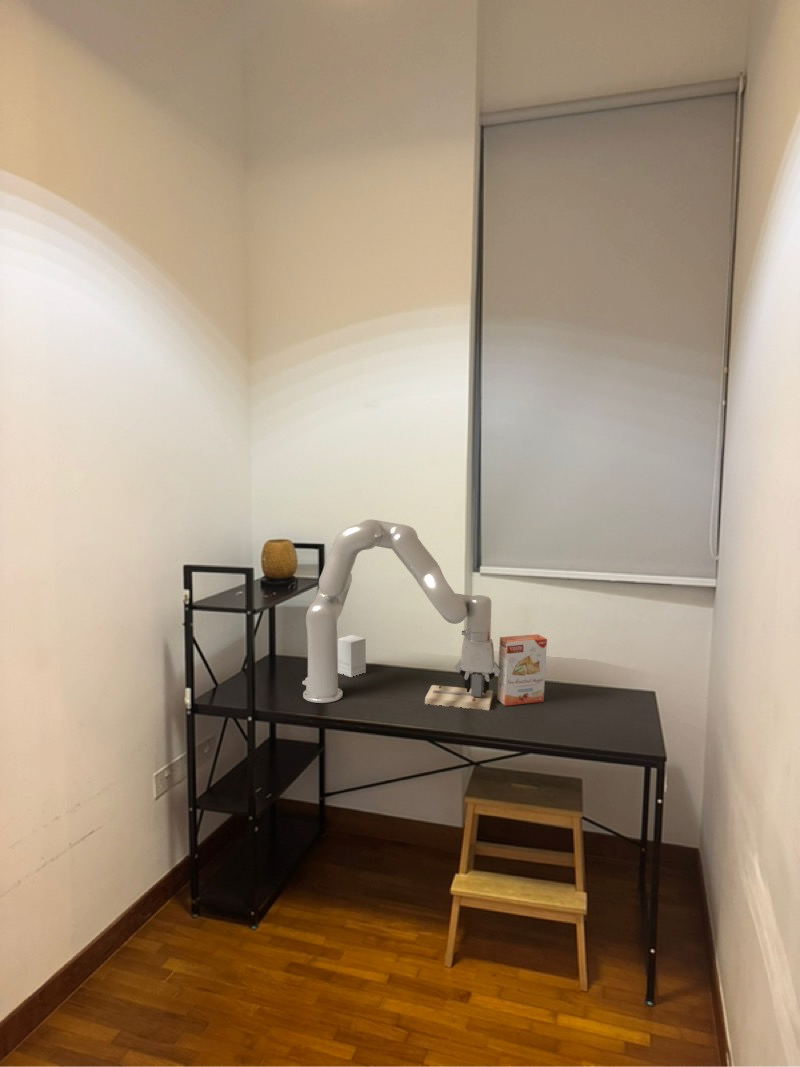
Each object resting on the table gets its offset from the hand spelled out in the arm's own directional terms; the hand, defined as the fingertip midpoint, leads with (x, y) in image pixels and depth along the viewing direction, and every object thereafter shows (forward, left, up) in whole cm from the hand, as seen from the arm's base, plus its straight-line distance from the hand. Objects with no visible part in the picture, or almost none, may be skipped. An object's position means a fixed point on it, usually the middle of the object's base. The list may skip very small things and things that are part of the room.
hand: (476, 690), depth 217 cm
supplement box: (-48, -9, -4) cm, 49 cm away
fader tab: (0, 0, -1) cm, 1 cm away
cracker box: (+10, +10, -4) cm, 15 cm away
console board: (-5, -3, -4) cm, 7 cm away
